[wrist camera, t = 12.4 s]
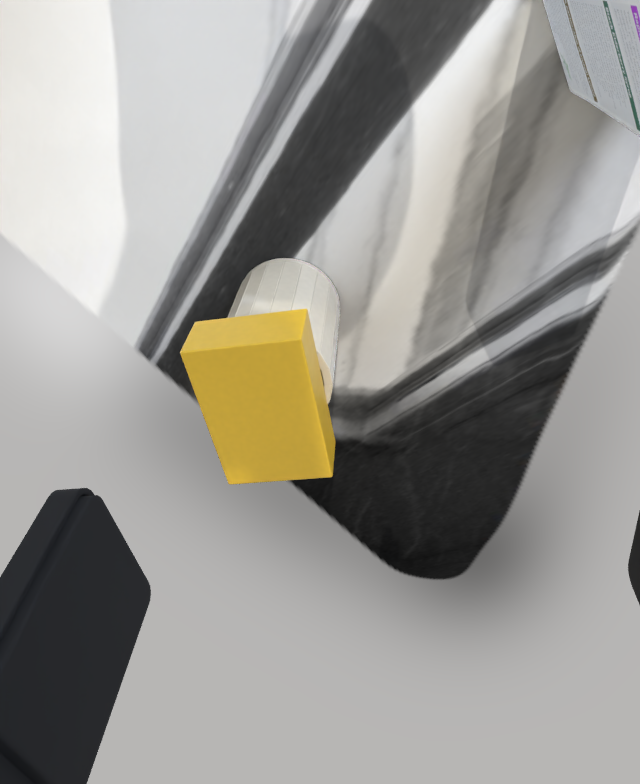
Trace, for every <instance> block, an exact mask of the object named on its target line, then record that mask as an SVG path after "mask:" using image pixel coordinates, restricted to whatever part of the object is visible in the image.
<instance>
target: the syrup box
mask: <svg viewBox="0 0 640 784" xmlns="http://www.w3.org/2000/svg"><path fill="white" fill-rule="evenodd" d="M543 3H544V6H545V10H546V13H547V16H548V19H549V23H550V26H551V29H552V33H553V36H554V39H555V43H556V46H557V49H558V53H559V56H560V59H561V63H562V66H563V69H564V73H565V76H566V79H567V82H568V86H569V89H570V91H571V92H572V93H573V94H575V95H577V96H578V97H580V98H582V99H584V100H586V101H588V102H589V103H591V104H592V105H594V106H595V107H597V108H599V109H600V110H602V111H603V112H605V113H606V114H607V115H609V116H610V117H612V118H613V119H615V120H616V121H618V122H619V123H621V124H622V125H624V126H625V127H626V128H628V129H629V130H631V131H632V132H633V133H635V134H636V135H638V136H639V137H640V0H543Z"/></svg>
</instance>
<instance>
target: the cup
mask: <svg viewBox="0 0 640 784" xmlns="http://www.w3.org/2000/svg"><path fill="white" fill-rule="evenodd" d="M298 309H307V310H308V314H309V319H310V323H311V328H312V333H313V338H314V342H315V347H316V352H317V357H318V361H319V366H320V371H321V376H322V380H323V385H324V390H325V395H326V399H327V404H328V403H329V402H330V399H331V394H332V389H333V381H334V371H335V361H336V351H337V341H338V331H339V321H340V300H339V296H338V293H337V290H336V288H335V286H334V285H333V283H332V281H331V280H330V279H329V278H328V277H327V276H326V275H325V274H324V273H323V272H322V271H321V270H320V269H318V268H317V267H315V266H313V265H312V264H309V263H307V262H305V261H301V260H298V259H292V258H278V259H273V260H269V261H266V262H263V263H261V264H259V265H258V266H256V267H255V268H253V269H252V270H251V271H250V272H249V273H248V274H247V275H246V277H245V278H244V279H243V281H242V283H241V285H240V287H239V290H238V292H237V294H236V297H235V299H234V301H233V304H232V306H231V309H230V311H229V313H228V316H227V318H231V317H239V316H248V315H256V314H264V313H273V312H281V311H289V310H298Z"/></svg>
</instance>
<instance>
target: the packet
mask: <svg viewBox="0 0 640 784" xmlns="http://www.w3.org/2000/svg"><path fill="white" fill-rule="evenodd" d="M180 354H181V357H182V360H183V362H184V365H185V368H186V370H187V373H188V376H189V378H190V381H191V384H192V386H193V389H194V392H195V395H196V397H197V400H198V403H199V405H200V408H201V411H202V413H203V416H204V419H205V421H206V424H207V427H208V429H209V432H210V435H211V438H212V440H213V443H214V446H215V448H216V451H217V454H218V456H219V459H220V462H221V465H222V467H223V470H224V473H225V475H226V478H227V481H228V483H229V484H243V483H257V482H271V481H286V480H300V479H314V478H327V477H332V476H333V464H334V452H335V437H334V433H333V428H332V423H331V418H330V414H329V409H328V404H327V399H326V395H325V390H324V385H323V380H322V376H321V371H320V366H319V361H318V357H317V352H316V347H315V342H314V338H313V333H312V328H311V323H310V319H309V314H308V310H307V309H298V310H289V311H281V312H273V313H264V314H256V315H248V316H239V317H231V318H223V319H215V320H206V321H198V322H195V323H194V325H193V327H192V329H191V331H190V333H189V335H188V337H187V339H186V341H185V343H184V345H183V347H182V349H181V351H180Z"/></svg>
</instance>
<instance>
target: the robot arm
mask: <svg viewBox="0 0 640 784" xmlns="http://www.w3.org/2000/svg"><path fill="white" fill-rule="evenodd" d="M628 571H629V577H630V581H631V584H632V587H633V589H634V592H635V595H636V597H637V599H638V602H639V604H640V512H639V517H638V521H637V526H636V531H635V535H634V540H633V544H632V549H631V553H630V558H629V564H628ZM150 595H151V590H150V585H149V582H148V580H147V578H146V577H145V575H144V573H143V571H142V570H141V568H140V566H139V564H138V563H137V561H136V559H135V557H134V555H133V553H132V552H131V550H130V548H129V546H128V545H127V543H126V541H125V539H124V538H123V536H122V534H121V532H120V530H119V529H118V527H117V525H116V523H115V522H114V520H113V518H112V516H111V514H110V512H109V511H108V509H107V507H106V505H105V504H104V502H103V500H102V499H101V497H99V496H97V495H96V496H95V495H94V494H93V492H92V491H91V490H89V489H88V488H80V489H67V490H56V491H54V492H53V493H51V495H50V496H49V497H48V499H47V500H46V502H45V504H44V505H43V507H42V509H41V510H40V512H39V514H38V515H37V517H36V519H35V520H34V522H33V524H32V525H31V527H30V529H29V530H28V532H27V534H26V535H25V537H24V539H23V540H22V542H21V544H20V545H19V547H18V549H17V550H16V552H15V554H14V555H13V557H12V559H11V560H10V562H9V564H8V565H7V567H6V569H5V570H4V572H3V574H2V575H1V577H0V784H86V783H87V781H88V778H89V775H90V772H91V769H92V766H93V764H94V761H95V758H96V755H97V752H98V749H99V746H100V743H101V741H102V738H103V735H104V732H105V729H106V726H107V723H108V720H109V717H110V715H111V712H112V709H113V706H114V703H115V700H116V697H117V694H118V692H119V689H120V686H121V683H122V680H123V677H124V674H125V671H126V668H127V666H128V663H129V660H130V657H131V654H132V651H133V648H134V645H135V643H136V640H137V637H138V634H139V631H140V628H141V625H142V622H143V620H144V617H145V614H146V611H147V608H148V605H149V602H150Z"/></svg>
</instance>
